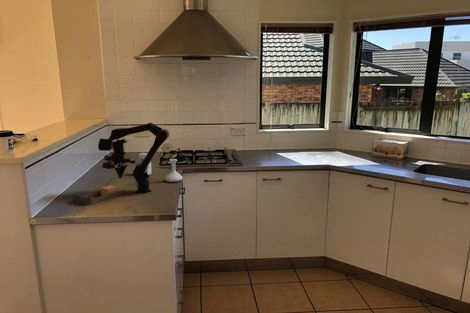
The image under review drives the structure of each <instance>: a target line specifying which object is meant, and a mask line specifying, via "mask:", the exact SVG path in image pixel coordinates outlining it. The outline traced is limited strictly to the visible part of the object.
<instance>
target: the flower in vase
mask: <svg viewBox="0 0 470 313" xmlns="http://www.w3.org/2000/svg"><path fill="white" fill-rule="evenodd" d="M160 149H161V152H164V153H168V154H164V155H163V157H162V158H163V159H164V158H165V159H168V158H169V157H170V159H169V162H170V164H171V171H170V172H169V173H168V174H166V175H165V177H164V180H165V181H166V182H171V183H177V182H180V181H183V176H182V174H180V173H179V172H177V171H176V163H177V162H178V159H176V157H177V155H178V153H175V154H173V155H172V156H171V155H170V152H171V151H173V149H174V143H172V142H164V143H163V144H162V145H161V146H160Z"/></svg>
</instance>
